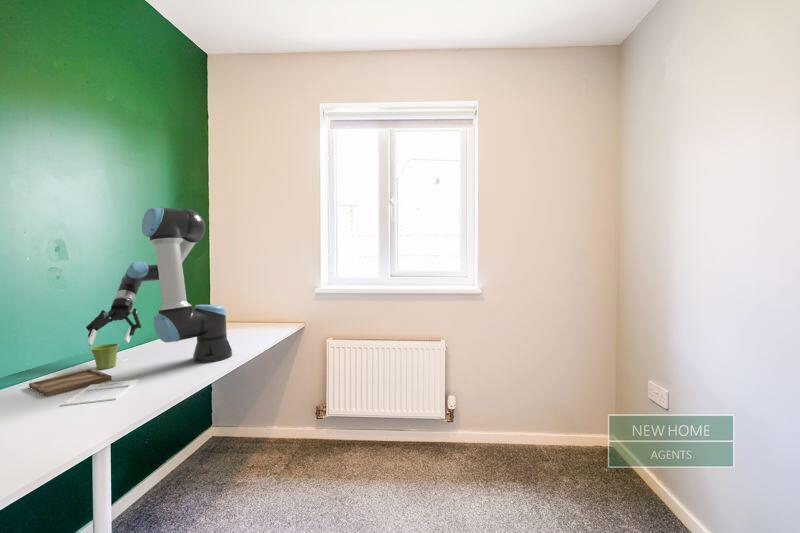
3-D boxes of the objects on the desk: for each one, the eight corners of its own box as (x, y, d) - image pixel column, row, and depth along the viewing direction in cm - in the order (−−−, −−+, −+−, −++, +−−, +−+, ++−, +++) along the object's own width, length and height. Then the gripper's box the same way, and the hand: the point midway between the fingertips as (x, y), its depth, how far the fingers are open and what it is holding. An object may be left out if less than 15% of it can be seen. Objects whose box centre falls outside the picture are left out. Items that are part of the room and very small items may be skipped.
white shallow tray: (138, 379, 137) (115, 397, 120) (138, 382, 137) (116, 401, 120) (91, 384, 133) (60, 404, 116) (91, 387, 133) (60, 407, 116)
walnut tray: (111, 380, 139) (111, 375, 139) (47, 397, 124) (46, 392, 124) (91, 372, 148) (91, 368, 148) (29, 387, 133) (28, 383, 133)
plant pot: (85, 370, 152) (84, 348, 152) (109, 363, 161) (108, 343, 161) (102, 371, 149) (101, 350, 149) (126, 364, 158) (124, 344, 158)
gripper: (156, 305, 178) (144, 344, 164) (95, 308, 173) (78, 349, 159) (151, 295, 173) (138, 335, 159) (88, 298, 167) (69, 340, 153)
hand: (108, 342), depth 159 cm, fingers open, 13 cm apart
